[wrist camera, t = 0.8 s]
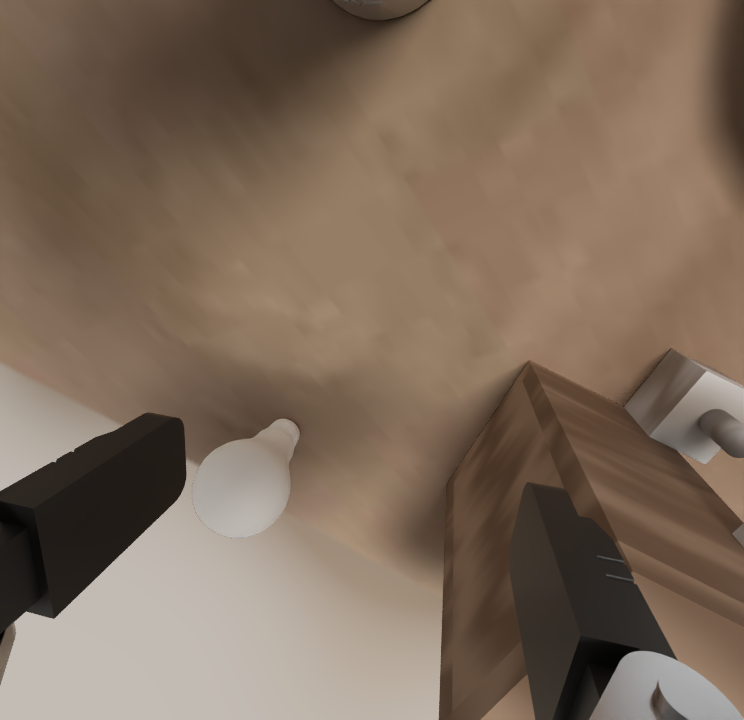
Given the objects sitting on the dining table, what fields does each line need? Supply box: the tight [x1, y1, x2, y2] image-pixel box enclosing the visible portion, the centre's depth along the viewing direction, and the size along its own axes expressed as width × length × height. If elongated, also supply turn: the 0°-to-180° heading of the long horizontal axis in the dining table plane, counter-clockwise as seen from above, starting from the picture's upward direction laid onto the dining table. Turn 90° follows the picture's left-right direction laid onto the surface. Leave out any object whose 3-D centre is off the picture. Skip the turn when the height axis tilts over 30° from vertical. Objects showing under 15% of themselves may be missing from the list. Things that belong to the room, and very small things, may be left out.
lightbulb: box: [192, 419, 300, 538], centre depth 29 cm, size 6×6×11 cm
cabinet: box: [439, 349, 744, 720], centre depth 21 cm, size 17×11×18 cm, turn 156°
